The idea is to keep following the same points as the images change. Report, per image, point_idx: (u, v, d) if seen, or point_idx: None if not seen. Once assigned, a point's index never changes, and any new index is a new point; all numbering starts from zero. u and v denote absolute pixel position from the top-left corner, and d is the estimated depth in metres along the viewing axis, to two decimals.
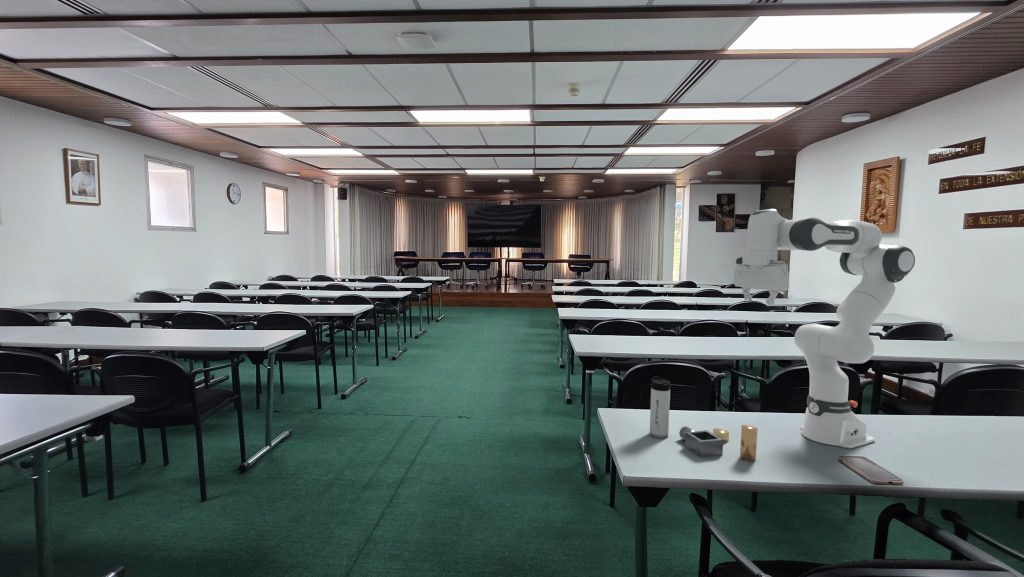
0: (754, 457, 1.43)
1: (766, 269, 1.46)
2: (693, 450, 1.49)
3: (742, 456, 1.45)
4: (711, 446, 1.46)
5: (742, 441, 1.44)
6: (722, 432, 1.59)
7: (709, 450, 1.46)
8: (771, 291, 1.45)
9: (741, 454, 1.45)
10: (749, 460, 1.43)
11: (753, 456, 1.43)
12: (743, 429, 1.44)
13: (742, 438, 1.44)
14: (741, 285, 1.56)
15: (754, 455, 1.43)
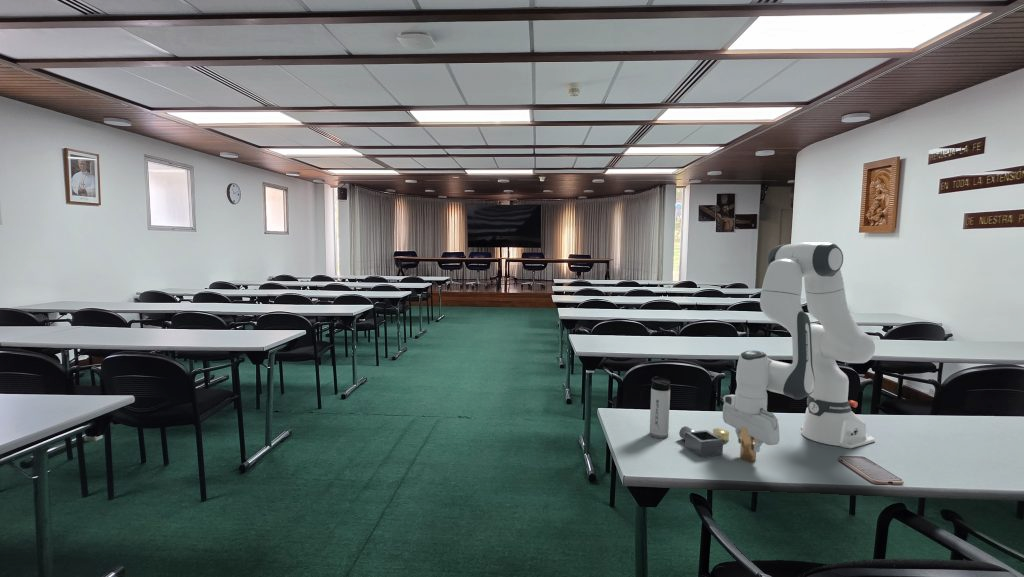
0: (754, 457, 1.43)
1: (755, 417, 1.40)
2: (693, 450, 1.49)
3: (742, 456, 1.45)
4: (711, 446, 1.46)
5: (742, 441, 1.44)
6: (722, 432, 1.59)
7: (709, 450, 1.46)
8: (756, 439, 1.40)
9: (741, 454, 1.45)
10: (749, 460, 1.43)
11: (753, 456, 1.43)
12: (743, 429, 1.44)
13: (742, 438, 1.44)
14: (730, 424, 1.50)
15: (754, 455, 1.43)
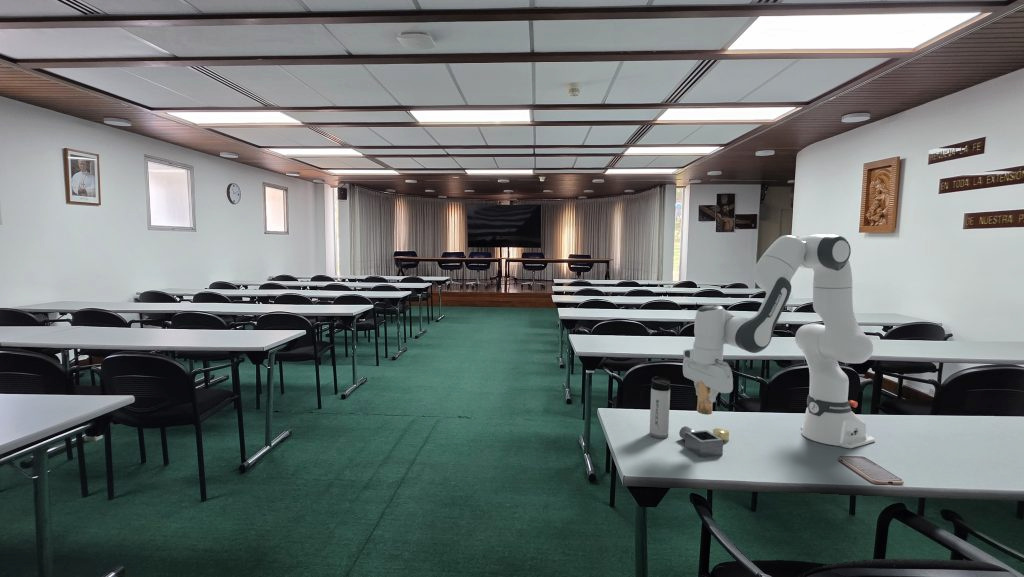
0: (710, 410, 1.48)
1: (711, 368, 1.44)
2: (693, 450, 1.49)
3: (699, 409, 1.49)
4: (711, 446, 1.46)
5: (699, 395, 1.48)
6: (722, 432, 1.59)
7: (709, 450, 1.46)
8: (712, 389, 1.45)
9: (698, 407, 1.49)
10: (705, 413, 1.47)
11: (709, 409, 1.47)
12: (700, 383, 1.48)
13: (699, 392, 1.49)
14: (689, 378, 1.54)
15: (710, 408, 1.47)
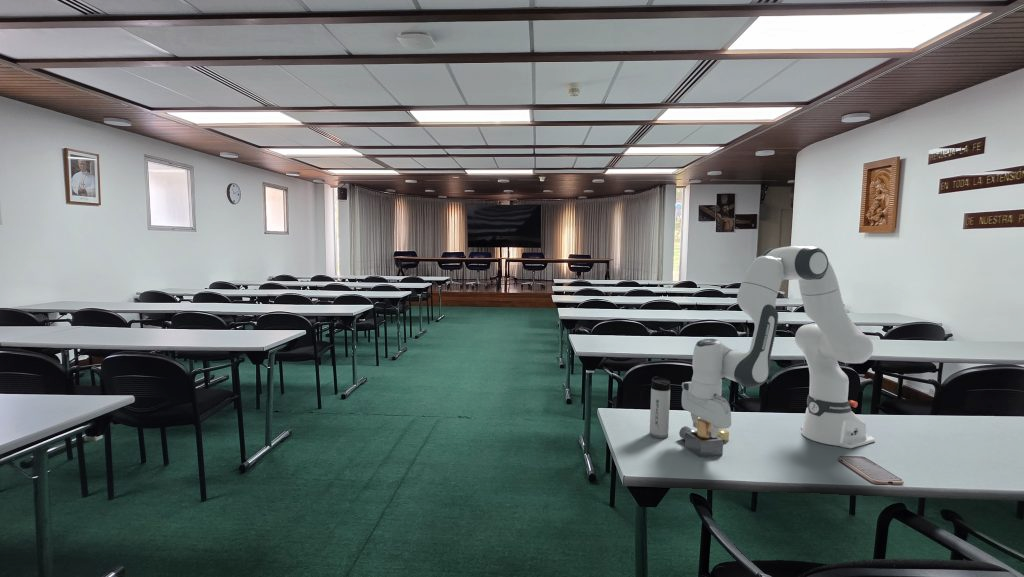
0: None
1: (709, 402, 1.45)
2: (693, 450, 1.49)
3: None
4: (711, 446, 1.46)
5: (698, 434, 1.50)
6: (722, 432, 1.59)
7: (709, 450, 1.46)
8: (713, 425, 1.44)
9: None
10: None
11: None
12: (699, 422, 1.49)
13: (698, 431, 1.50)
14: (688, 410, 1.55)
15: None
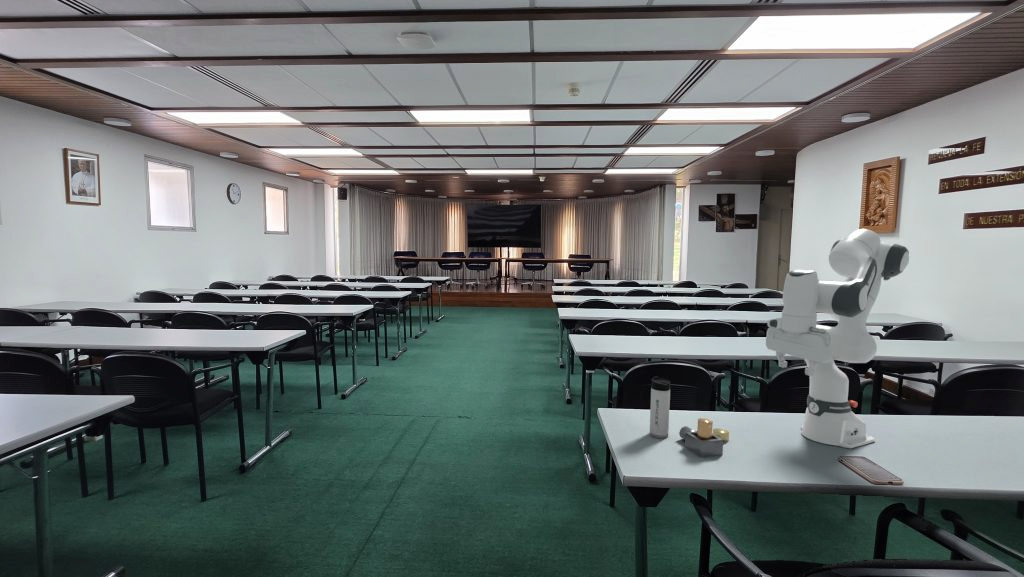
0: None
1: (805, 336, 1.33)
2: (693, 450, 1.49)
3: None
4: (711, 446, 1.46)
5: (698, 434, 1.50)
6: (722, 432, 1.59)
7: (709, 450, 1.46)
8: (811, 361, 1.32)
9: None
10: None
11: None
12: (699, 422, 1.49)
13: (698, 431, 1.50)
14: (775, 349, 1.44)
15: None
